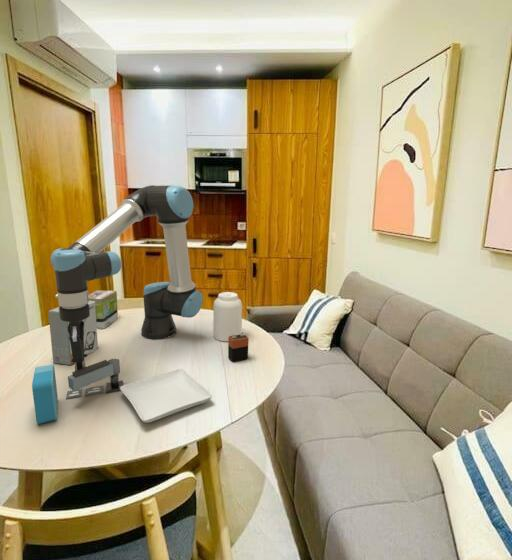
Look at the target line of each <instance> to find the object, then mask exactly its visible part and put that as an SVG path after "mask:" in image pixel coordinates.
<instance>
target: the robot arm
mask: <svg viewBox="0 0 512 560" xmlns="http://www.w3.org/2000/svg"><path fill="white" fill-rule="evenodd" d="M193 200H194V199H193V196H192V195H191V193H190V191H188V189H187V188H186V187H183V186H179V185H173V184H170V185H155V184H153V185H146V186H143V187H142V188H139V189H137V190H136V191H134V192H133V193H131V194H129V195H128V196H127V197H125V198H124V199H123V200H122V201H121V203H120V206H119V207H117V208H116V209H115V210H114V211H113V212H111V213H110V214H109V215H107V216H106V217H105V218H104V219H102V220H101V221H100V222H98V224H96V225H94V226H93V228H91V229H90V230H88V231H87V232H86V233H85V234H84V235H82V236H81V237H79V238H78V239H77V240H76V241H75V242H73V243H72V244H70V246H68V247H62V248H57V249H55V250H53V251H52V253H51V254H50V264H51V266H52V267H53V269H54V276H55V284H56V290H57V294H55V295H54V296H55V297H54V298H57V299H58V301H57V302H58V307H59V313H60V319H61V320H62V321H65V322H66V321H67V322H70V323H69V326H68V333H69V339H70V343H71V350H72V356H73V359H72V360H71V362H73V364H74V371H76V370H79V369H82V368H85V367H87V366H86V359H85V358H87V357H88V355H87V354H84V352H85V350H84V322H83V320H84V319H86V318H88V317H89V316H90V311H89V304H87V303H88V302H89V298H88V295H89V290H88V289H89V288H88V282H90V281H94V280H98V279H103V278H107V277H108V278H109V277H112V276H114V275H117V274H119V272H120V271H121V270H122V260H121V258H120V256H119V254H118V253H117V252H115V251H112V250H111V251H105V249H106V248H107V247H109V245H111V243H113V242H114V241H115V240H116V239H118V238H119V237H120V236H121V235H122V234H123V233H125V232H126V231H127V230H128V229H129V228H130V227H131V226H132V225H134V223H136V222H141V221H142V220H143V219H145V218H147V217H157V223H158V224H159V225H160V226H161V227H162V229H163V237H164V246H165V252H166V254H165V255H166V260H167V268H168V275H169V281H159V282H153V283H149V284H146V285H145V286H144V288H143V308H144V309H143V310H144V319H143V323H142V325H141V326H142V327H141V329H140V334H141V336H142V337H143V338H144V339H150V340H163V339H167V338H170V337H172V336H174V335H175V334H176V333H177V327H176V324H175V320H174V318H173V316H177V317H178V316H179V317H182V318H194V317H195V316H196V315H198V313H199V312H200V311H201V308H202V306H203V302H204V301H203V298H204V297H203V294H202V292H201V291H199V290H197V287H196V286H197V285H196V283H195V282H194V281H193V280H192V273H191V267H190V265H191V264H190V257H189V255H190V254H189V247H188V238H187V237H188V236H187V228H186V225H187V223H189V220H190V219H189V217H191V216H192V214H193V210H194V201H193Z"/></svg>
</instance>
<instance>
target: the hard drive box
mask: <svg viewBox="0 0 512 560" xmlns="http://www.w3.org/2000/svg"><path fill="white" fill-rule="evenodd" d="M87 304H89V311H90V316H89V317H88V318H86V319H84V320H83V322H84V350H85V352H84V354H87V356H88V355H89V354H91V353H93V352H94V351H96V350H97V349H99V344H98V329H97V325H96V309H95V301H89V302H88V303H87ZM59 307H60V306H58V307H55V308H53V309H50V310H48V312H47V313H48V321H49V331H50V341H51V342H50V343H51V352H52V353H51V354H52V364H60V365H67V366H71V365H73V364H74V363H73V362H71V360H72V359H73V356H72V350H71V343H70V339H69V333H68V326H69V323H70V322H67V321H66V322H65V321H62V320H61V319H60V313H59Z"/></svg>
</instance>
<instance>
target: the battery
mask: <svg viewBox="0 0 512 560" xmlns="http://www.w3.org/2000/svg"><path fill="white" fill-rule="evenodd" d="M249 339H250V338H249V337H248V336H247V335H246V333H244V332H241V333H240V335H232V336H229V337H228V343H227V344H228V345H227V354H228V355H227V358H228V359H229V360H230V361H231V363H236V362H240V361H245V360H248V359H249Z"/></svg>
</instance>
